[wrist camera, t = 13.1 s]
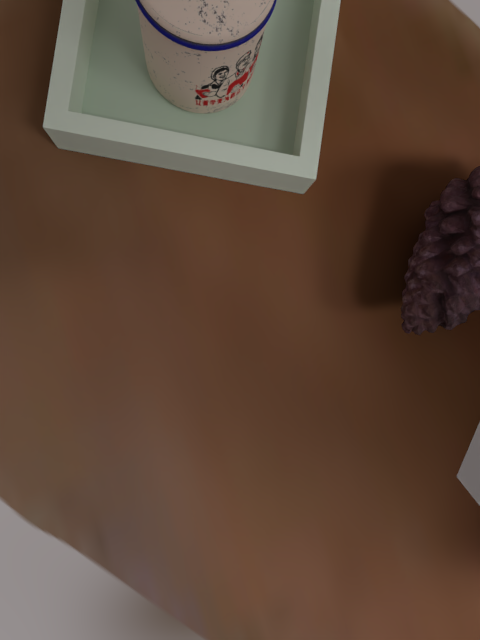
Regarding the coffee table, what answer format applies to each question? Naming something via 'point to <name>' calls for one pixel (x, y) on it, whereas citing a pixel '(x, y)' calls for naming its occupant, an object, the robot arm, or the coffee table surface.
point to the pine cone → (445, 261)
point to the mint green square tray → (187, 127)
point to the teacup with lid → (202, 49)
